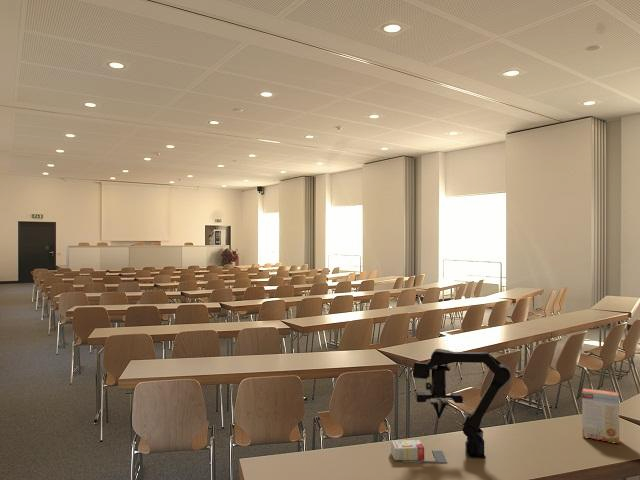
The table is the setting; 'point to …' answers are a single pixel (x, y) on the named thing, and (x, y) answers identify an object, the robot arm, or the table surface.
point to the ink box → (407, 450)
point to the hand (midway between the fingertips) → (438, 418)
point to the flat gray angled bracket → (438, 457)
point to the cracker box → (600, 415)
